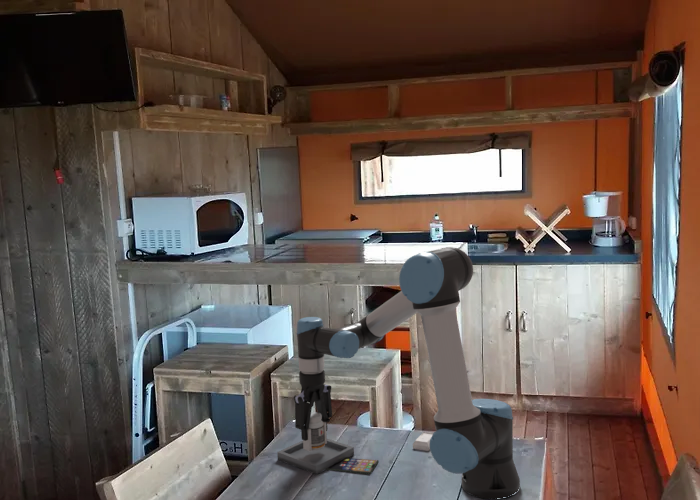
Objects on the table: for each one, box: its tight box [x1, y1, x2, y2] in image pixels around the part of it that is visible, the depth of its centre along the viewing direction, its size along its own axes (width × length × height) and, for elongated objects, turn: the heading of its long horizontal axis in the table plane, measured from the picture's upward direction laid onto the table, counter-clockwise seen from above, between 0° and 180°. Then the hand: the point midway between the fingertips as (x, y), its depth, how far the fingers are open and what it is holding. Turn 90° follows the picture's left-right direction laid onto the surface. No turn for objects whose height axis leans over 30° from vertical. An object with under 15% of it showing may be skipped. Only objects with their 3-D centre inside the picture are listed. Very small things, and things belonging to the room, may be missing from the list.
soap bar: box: [412, 431, 434, 452], centre depth 212 cm, size 5×9×3 cm, turn 154°
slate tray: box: [276, 438, 355, 475], centre depth 206 cm, size 16×16×2 cm
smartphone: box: [325, 457, 379, 476], centre depth 199 cm, size 8×15×1 cm, turn 72°
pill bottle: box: [309, 411, 325, 450], centre depth 205 cm, size 6×6×10 cm
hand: (315, 445), depth 205 cm, fingers closed on pill bottle, 6 cm apart
